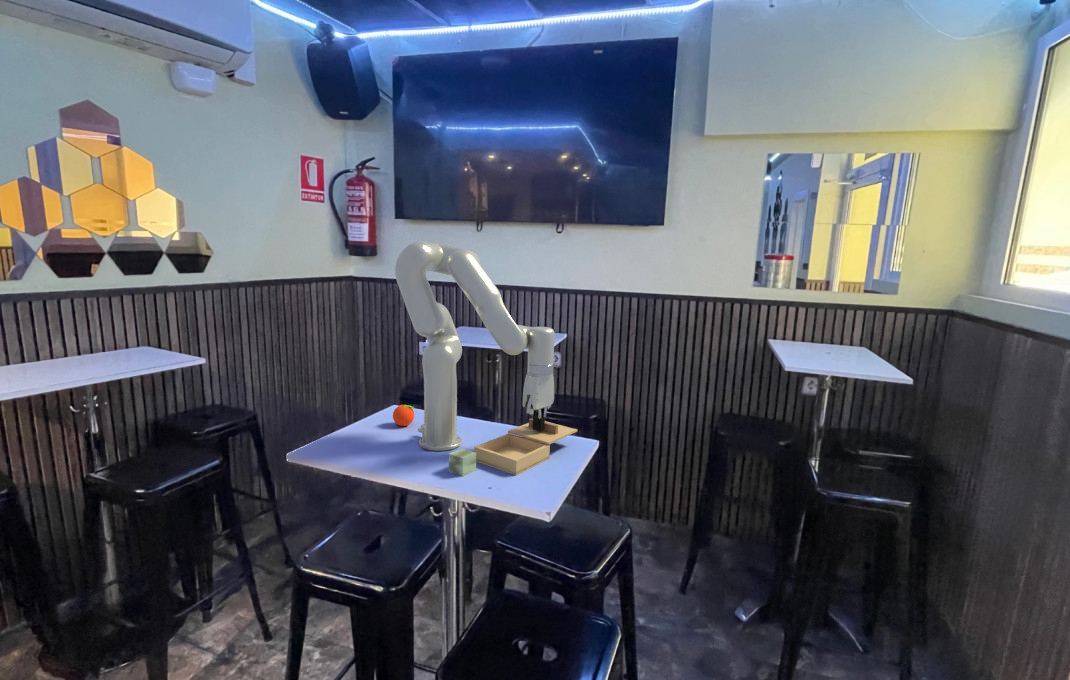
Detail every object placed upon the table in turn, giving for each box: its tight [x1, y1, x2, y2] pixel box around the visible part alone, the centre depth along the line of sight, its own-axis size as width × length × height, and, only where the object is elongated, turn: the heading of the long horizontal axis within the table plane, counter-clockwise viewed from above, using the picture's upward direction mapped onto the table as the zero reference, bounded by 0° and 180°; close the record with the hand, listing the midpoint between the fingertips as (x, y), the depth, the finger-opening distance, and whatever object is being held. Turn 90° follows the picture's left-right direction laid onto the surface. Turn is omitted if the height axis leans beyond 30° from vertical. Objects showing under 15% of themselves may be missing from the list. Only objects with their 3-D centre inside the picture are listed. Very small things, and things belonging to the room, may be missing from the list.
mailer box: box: [473, 432, 551, 476], centre depth 146 cm, size 15×15×4 cm
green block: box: [448, 447, 477, 477], centre depth 137 cm, size 5×5×5 cm
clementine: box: [392, 404, 418, 427], centre depth 171 cm, size 8×7×7 cm
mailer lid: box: [507, 417, 578, 445], centre depth 156 cm, size 15×15×3 cm
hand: (538, 429), depth 155 cm, fingers closed
